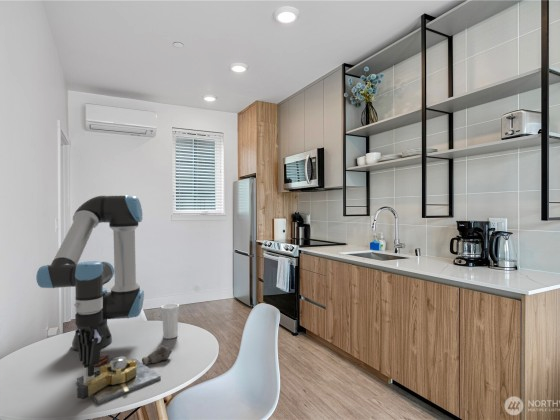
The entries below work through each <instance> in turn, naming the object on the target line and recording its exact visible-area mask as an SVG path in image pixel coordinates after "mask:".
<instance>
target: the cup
mask: <svg viewBox="0 0 560 420" xmlns="http://www.w3.org/2000/svg"><path fill="white" fill-rule="evenodd" d="M179 309H180V304H178V303H174V302H173V303H165V304H163V305H161V307H160V310H161V316H162V333H163V334H162V337H163V338H164V339H169V340H170V339H175V338H176V337H178V330H179V329H178V328H179Z"/></svg>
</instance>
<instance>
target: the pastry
mask: <svg viewBox="0 0 560 420" xmlns="http://www.w3.org/2000/svg"><path fill="white" fill-rule="evenodd" d="M109 359H110V358H109V355H108V354H107V353H105V352H104V353H102V351H101V352H100V359H99V364H96V365H94V368H97V367H101V366H104V365H106V364H107V362H108V361H109Z"/></svg>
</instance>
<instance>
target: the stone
mask: <svg viewBox="0 0 560 420" xmlns="http://www.w3.org/2000/svg"><path fill="white" fill-rule="evenodd" d="M171 354H172V350H171V348H170V347H167V346H164V345H161V346H159V347H158V348H157V349H155V350H154V351H152V352H150V354H148V355H147V356H144V357H142V358H141V363H142V364H144V365H145V366H147V365H148V364H156V363H160V362H161V361H166V360H168V359H169V357H170V356H171Z"/></svg>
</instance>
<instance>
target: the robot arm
mask: <svg viewBox="0 0 560 420" xmlns="http://www.w3.org/2000/svg"><path fill="white" fill-rule="evenodd" d="M141 204H142V203H141V201H140V199H139V198H138V197H137V196H134V195H127V194H126V195H98V196H94V197H92V198H90V199H88V200H86V201H85V202H83V203H82V204H81V205H80V206H79V207H78V208H77V209H76V210H75V211H74V213H73V216H72V224H71V225H70V228H69V229H68V231H67V234H66V235H65V237H64V239H63V241H62V243H61V245H60V246H59V249H58V251H57V253H56V255H55V256H54V259H53V260H52V262H51V263H50V264H47V265H42V266H40V267H39V268H38V269H37V272H36V283H37V286H39V288H40V289H55V288H56V289H58V288H72V287H75V303H74V307H75V316H74V317H75V321H74V322H75V324H74V325H75V326H76V330H75V334H74V336H73V339H72V341H71V349H72V350H74V351H77V352H78V358H79V362H82V363H81V364H82V365H83V376H84V383H86V382H88V381H90V380H92V379H93V378H94V372H95V367H94V365H96V364H99V359H100V352H101V353H102V348H104V347H106V346H108V345H110V344H111V343H112V341H113V337H112V336H113V335H112V333H111V330H110V328H109V324H108V320H116V319H117V320H119V319H131V318H137V317H139V316H140V314H141V312H142V309H143V304H144V300H145V292H144V290H143V289H141V288H140V285H139V284H138V283H137V277H136V276H137V274H136V273H137V271H136V269H137V268H136V230H137V228H138V227H139V223H141V222H143V209H142V208H143V207H142V205H141ZM100 223H101V224H102V223H109V229H111V230H113V233H112V234H113V265H114V266H113V265H112V264H111V263H110V262H108V261H99V260H98V261H97V260H95V261H94V260H93V261H92V260H90V261H89V260H87V261H83V262H80V260H81V259H80V258H81V257H82V255H83V252H84V251H85V249H86V246H87V244H88V241H89V239H90V236H91V234H92V232H93V229H96V228H97V227H98V225H99V224H100ZM113 277H114V285H113V286H112V287H111V288H110V291H108V290H107V288H104V287H103V286H104V285H105V284H107V283H109V282H110V281H111V280H112V278H113Z"/></svg>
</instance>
